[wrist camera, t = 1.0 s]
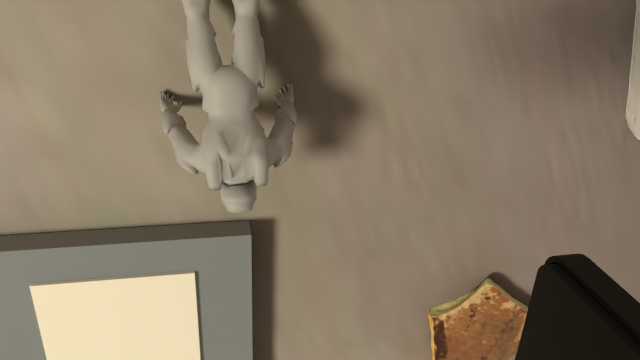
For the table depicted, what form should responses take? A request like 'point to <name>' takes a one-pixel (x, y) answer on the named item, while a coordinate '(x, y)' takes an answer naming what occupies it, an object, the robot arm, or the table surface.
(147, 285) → the base plate
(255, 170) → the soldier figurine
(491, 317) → the shard
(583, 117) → the table surface
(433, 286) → the table surface
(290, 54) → the table surface
